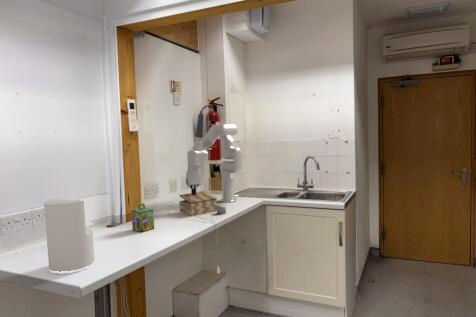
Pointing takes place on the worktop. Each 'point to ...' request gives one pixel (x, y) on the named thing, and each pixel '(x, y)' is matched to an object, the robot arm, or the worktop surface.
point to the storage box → (197, 207)
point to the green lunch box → (142, 219)
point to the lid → (197, 197)
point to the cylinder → (67, 235)
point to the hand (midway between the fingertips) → (193, 194)
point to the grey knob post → (221, 209)
